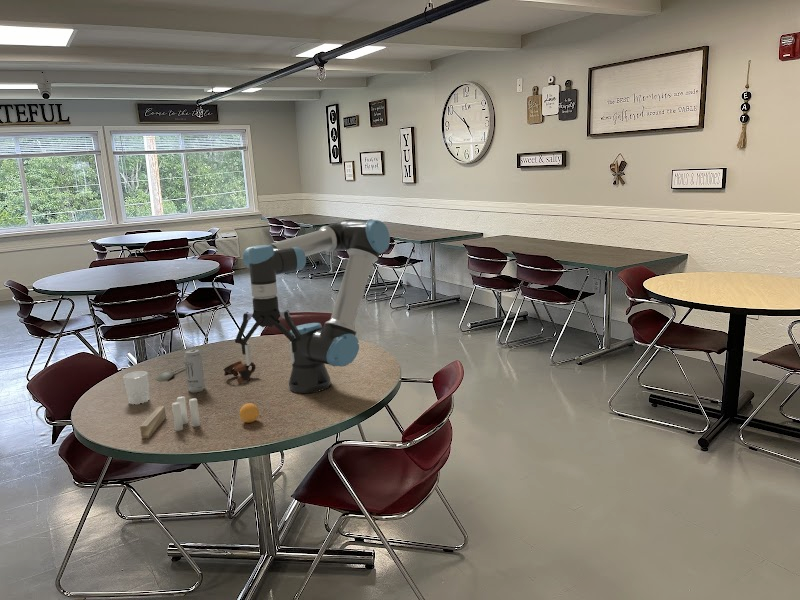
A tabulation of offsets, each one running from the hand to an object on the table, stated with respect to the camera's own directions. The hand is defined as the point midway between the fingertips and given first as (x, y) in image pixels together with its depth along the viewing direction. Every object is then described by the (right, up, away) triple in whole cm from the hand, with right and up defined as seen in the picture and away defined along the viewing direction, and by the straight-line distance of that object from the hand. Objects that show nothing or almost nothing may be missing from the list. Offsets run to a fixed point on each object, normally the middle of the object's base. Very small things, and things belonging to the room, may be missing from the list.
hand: (270, 363), depth 188 cm
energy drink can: (-35, -14, +35) cm, 51 cm away
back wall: (-37, -20, +3) cm, 43 cm away
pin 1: (-29, -20, +5) cm, 35 cm away
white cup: (-52, -16, +27) cm, 61 cm away
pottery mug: (-21, -11, +45) cm, 51 cm away
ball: (-7, -16, +3) cm, 18 cm away
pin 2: (-29, -21, 0) cm, 35 cm away
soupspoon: (-50, -10, +57) cm, 76 cm away
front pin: (-24, -20, +3) cm, 31 cm away
